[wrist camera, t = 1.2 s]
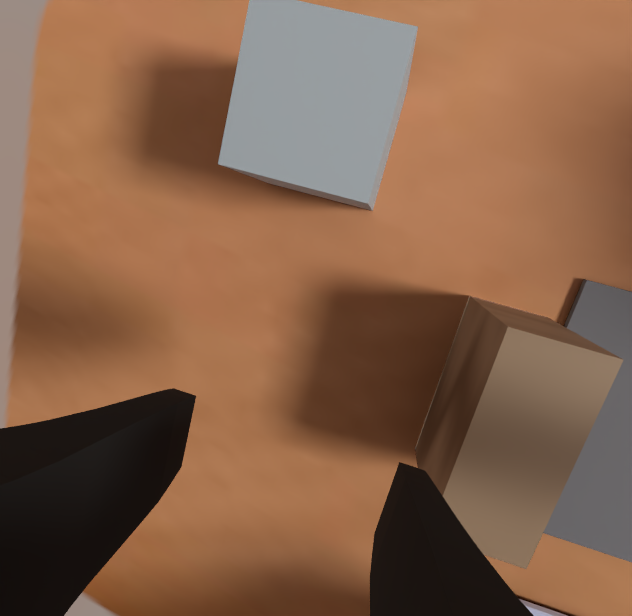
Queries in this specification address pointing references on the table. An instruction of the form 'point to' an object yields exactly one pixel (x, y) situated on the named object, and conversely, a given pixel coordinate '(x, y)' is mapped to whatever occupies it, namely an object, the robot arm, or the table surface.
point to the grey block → (317, 99)
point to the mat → (602, 435)
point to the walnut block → (511, 423)
